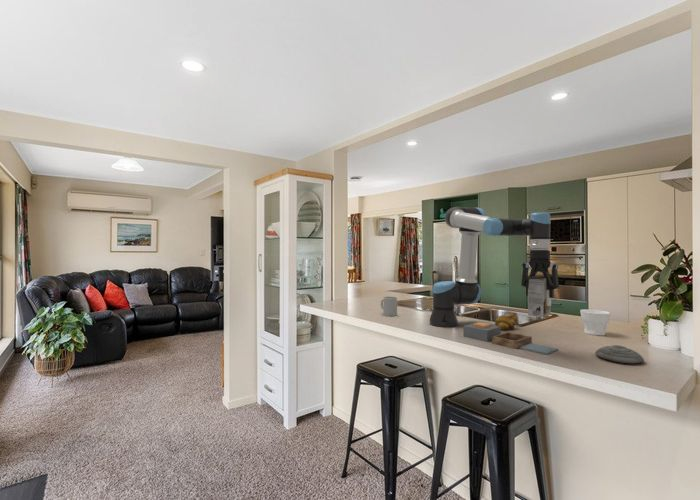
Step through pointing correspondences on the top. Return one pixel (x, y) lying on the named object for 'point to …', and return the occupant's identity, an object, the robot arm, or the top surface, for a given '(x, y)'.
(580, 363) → the top surface
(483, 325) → the release button
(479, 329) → the button housing
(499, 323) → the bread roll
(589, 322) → the cup
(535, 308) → the coffee box
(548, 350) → the slate mat
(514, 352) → the top surface
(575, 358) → the top surface
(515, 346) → the wooden tray
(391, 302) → the mug
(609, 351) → the grey flat stone
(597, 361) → the top surface
